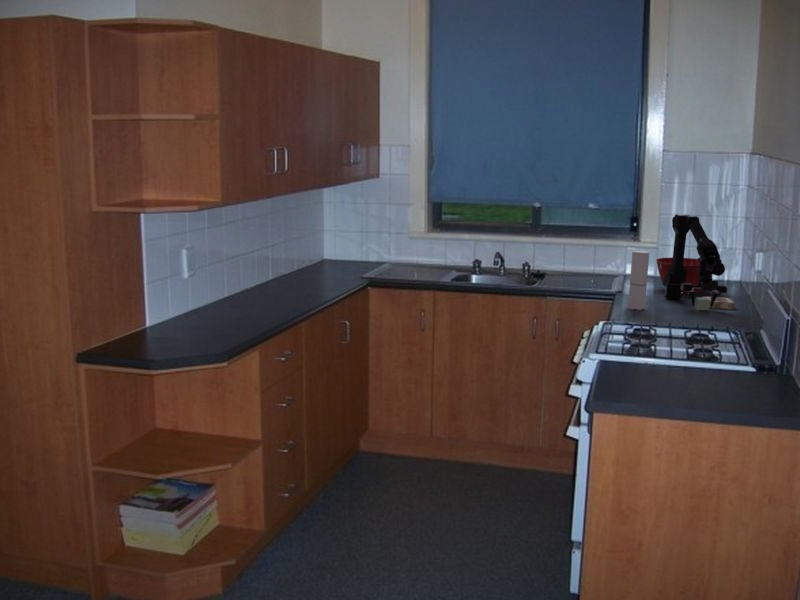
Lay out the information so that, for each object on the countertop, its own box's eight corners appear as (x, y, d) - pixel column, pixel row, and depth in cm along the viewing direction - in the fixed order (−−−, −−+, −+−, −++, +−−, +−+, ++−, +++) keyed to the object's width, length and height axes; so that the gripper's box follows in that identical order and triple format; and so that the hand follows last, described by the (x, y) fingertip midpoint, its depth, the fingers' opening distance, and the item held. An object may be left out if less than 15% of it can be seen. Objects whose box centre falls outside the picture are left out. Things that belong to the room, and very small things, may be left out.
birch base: (706, 307, 399) (707, 300, 399) (701, 302, 411) (702, 296, 410) (734, 309, 398) (735, 302, 397) (728, 304, 409) (729, 297, 409)
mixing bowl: (649, 293, 433) (652, 261, 430) (657, 285, 459) (659, 255, 456) (711, 299, 422) (714, 266, 419) (715, 290, 448) (718, 259, 445)
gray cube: (697, 310, 393) (698, 299, 392) (694, 308, 397) (695, 297, 396) (708, 311, 392) (709, 299, 391) (706, 309, 397) (707, 297, 396)
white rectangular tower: (643, 307, 396) (647, 251, 391) (645, 310, 389) (650, 253, 384) (626, 306, 396) (631, 250, 392) (629, 309, 389) (633, 252, 385)
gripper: (686, 273, 385) (683, 309, 388) (731, 276, 383) (728, 311, 385) (682, 270, 396) (679, 304, 399) (725, 272, 393) (722, 307, 396)
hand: (702, 307), depth 394 cm, fingers open, 7 cm apart
